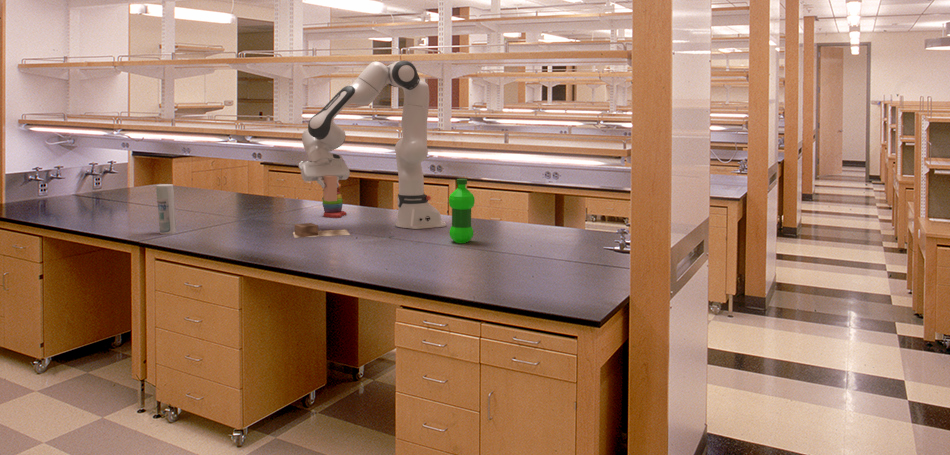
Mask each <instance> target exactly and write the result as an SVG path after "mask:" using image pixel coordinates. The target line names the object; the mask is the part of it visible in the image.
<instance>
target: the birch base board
mask: <svg viewBox="0 0 950 455" xmlns="http://www.w3.org/2000/svg"><path fill="white" fill-rule="evenodd" d="M292 234H293V237H294V238H295V239H297V238H302V237H301V236H298V235H296V234H295V231H292ZM333 236H334V237H336V236H339V237H340V236H351V234H350V232H349V231H348V230H347V229H330V230H329V229H326V230H318V235H315V236H306V237H305V238H316V237H333Z"/></svg>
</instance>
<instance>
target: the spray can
mask: <svg viewBox="0 0 950 455" xmlns="http://www.w3.org/2000/svg"><path fill="white" fill-rule="evenodd" d="M155 189H156V202H157V212H158V213H157V214H158V225H159V233H160V234H161V235H172V234H176V233H177V225H176V224H177V222H176V220H177V219H176V206H175V191H174V184H172V183H171V184H170V183H163V184H161V183H160V184H156V185H155Z"/></svg>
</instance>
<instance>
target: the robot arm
mask: <svg viewBox="0 0 950 455" xmlns="http://www.w3.org/2000/svg"><path fill="white" fill-rule="evenodd" d="M418 73H419V72H418V70H417V68H416V65H414V64H413V63H412V62H410V61H408V60H396V61H395V62H392V63H389V64H388V65H386V64H384V63H382V62H380V61H376V60H375V61H372V62H370V63H369V64H368V65H367V66H365V68H364V69H363V70H362V71H361V73H360V74H359V75H358V76H357V78H356V79H355V80H354V81H353V82H352V83H351V84H349V85H345V86H344V87H342V88H341V89H340V90H339V91H338V92H337V93H336V94H335V95H334V96H333V97H332V98H331V99H330V101H329V102H327V103H326V105H325V106H323V108H322V109H321V110H319V111H318V112H317V113H315V114H314V115H313V116H312V117H311V118H310V119H309V121H308V123H307V128H306V129H304V131H303V132H302V135H301V141H302V145H303V148H304V152H306V154H307V159H308V160H306V161H305V160H304V161H303V160H302V161H300V162H299V163H298V164H297V166H298V169H299V170H300V176H301V179H302V180H303V181H304V182H316V183H317V184H319V185H320V186H321V188H322V189H324V188H326V187H327V185H326V183H324V176H337V187H339V183H340V182H339V181H343V180H345V181H346V180H347V179H349V177H350V174H351V171H350V169H349V166H348V165H347V163H346V162H345V161H344V160H343V156H342V155H341V154H337V153H333V152H332V151H334V150H337V149H338V148H340V147H342V146H343V144H344V143H345V141H346V132H345V130H344V129H342V127H340V126H339V125H338V124H337V123H335V122H334V119H335V118H336V117H337V116H338V115H339V114H340V113H341V112H342V110H343V109H345V107H347V106H348V105H353V104H355V105H358V106H367V105H371V103H373V102H374V101H375V100H376V98H377V97H378V96H379V94H380V93H381V91H383V88H385V87H386V85H389V86H391V87H394V88H399V89H402V90H403V97H404V98H403V103H402V114H401V129H402V138H400V139H399V140H398V141H397V142H396V143H395V146H394V152H395V160H396V168H397V174H398V194H397V216H396V217H397V218H396V221H395V227H396V228H397V227H398V228H402V229H403V228H404V229H413V230H421V229H430V228H431V229H432V228H434V229H435V228H441V227H446V226H447V223H446V222H445V221H444V220H443V219H442V217H441V216H442V215H441V213H440V211H439V209H437V208H436V207H435V206H433V205H432V204H431V203H429V201H431V195H427V194H425V193H424V192H425V186H424V185H425V184H424V183H425V181H424V180H425V178H424V173H423V167H422V162H424V161H425V160H426V158H427V157H428V153H429V150H428V130H427V128H428V127H427V126H428V118H429V117H428V116H429V107H430V87H429V85H428V83H427V82H426V81H424V80H422V79H420V76H419V74H418ZM338 182H339V183H338Z"/></svg>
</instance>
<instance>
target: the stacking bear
mask: <svg viewBox="0 0 950 455" xmlns="http://www.w3.org/2000/svg"><path fill="white" fill-rule="evenodd" d="M338 183H339V187H337V201H325V200H324V195H323V197H322V208H323V211H324V212H323V214H322V215H323V217H324V218H329V219H331V218H333V219H339V218H342V217H345V216H347V212H346V211H344V210H342V209H343V204H344V203H343V202H344V201H343V196H342V193H341V191H340V190H341V187H342V185H341V183H340V182H339V181H338ZM344 215H345V216H344Z"/></svg>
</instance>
